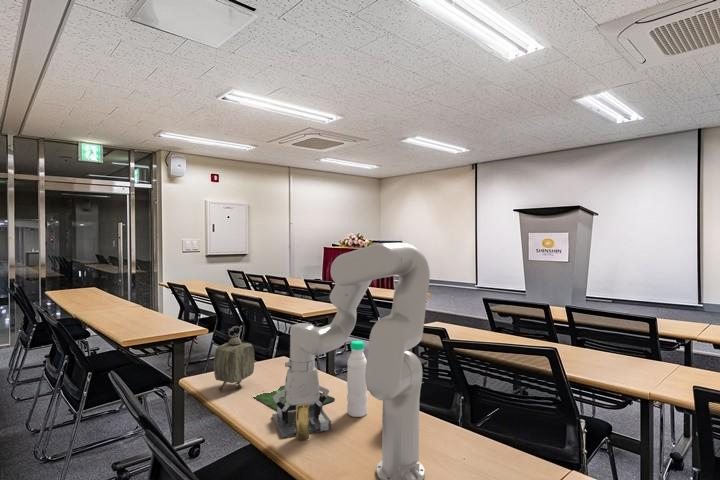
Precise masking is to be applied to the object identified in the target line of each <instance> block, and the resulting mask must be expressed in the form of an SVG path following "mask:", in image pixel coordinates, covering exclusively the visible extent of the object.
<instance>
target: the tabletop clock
mask: <svg viewBox="0 0 720 480" xmlns="http://www.w3.org/2000/svg"><path fill="white" fill-rule="evenodd" d="M234 329H239V332H238V333H233V335H232V334H231V335H230V333H231V331H232V330H234ZM241 332H242V329H241V326H238V325H235V326H232V327H231V328H230V329H229V331H228V334H227V335H228V336H229V338H230V339H229V340H228V342H225V343H224V344H222V345H219V346H217V348H216V349H215V351H214V356H213V373H214V374H213V375H214V378H215V380H216V381H220V382H223V383H222V385H221V386H219V387H218V391H219V390H220V391H219V392H222V391H223V390H224V386H225V385H226V384H227V383H229V384H230V383H231V384H234V383H237V389H238V388H240V389H241V388H242V385H241V384H240V383H241V382H242V380H245V379H248V378H249V377H250V376H252V375H253V374H254V369H255V349H254V346H253V345H252V343H248V342H242V340H241V339H240V337H238V336H239V335H240V334H241ZM239 382H240V383H239ZM221 390H222V391H221Z"/></svg>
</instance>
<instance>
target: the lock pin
mask: <svg viewBox="0 0 720 480" xmlns="http://www.w3.org/2000/svg"><path fill="white" fill-rule="evenodd" d="M314 420H315V422H316V423H317V425H318V426H319V430H320V432H323V431H324V430H325V431H330V430H329V421H328V420H326V419H325V418H324V417H323V415H322V414H321V412H320V415H319V419H316V418H315V417H314Z"/></svg>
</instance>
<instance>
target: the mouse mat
mask: <svg viewBox="0 0 720 480" xmlns="http://www.w3.org/2000/svg"><path fill="white" fill-rule="evenodd" d="M279 387H280V388H279V389H278V390H276V391H273V392H271V393H263V394H260V395H257V396H256V397H253V398H254V400H255V399H256V400H255V401H257V402H259V403H261V404H263V405H264V406H266V407H267V408H270V409H271V410H273V411H275V412H277V404H276V402H275V401H274V399H273V396H274V395H275V394H277V393H279V392H280V391H282V390H283V389H285V384H284V385H282V386H281V385H280V386H279ZM322 394H323V392H321V391H319V398H320V396H321V395H322ZM253 398H252V399H253ZM284 400H285V397H284V396H282V397H281V398H279V401H280V402H281V403H283V402H284ZM334 401H336V399H335V398H334V397H333V396H330V395H329V394H328V395H327V397H326V400H325V401H324V402H323V403H322V406H324V405H327V404H330V403H333V402H334Z"/></svg>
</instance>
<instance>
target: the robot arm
mask: <svg viewBox="0 0 720 480" xmlns="http://www.w3.org/2000/svg"><path fill="white" fill-rule="evenodd" d="M429 266H430V265H429V263H428V260H427V258H426V256H425V254H424V253H423V252H422V251H420V249H419V248H417V247H416V246H414V245H412V244H409V243H406V242H382V243H381V242H379V243H374V244H371V245H367V246H365V247H362V248H357V249H355V250H352V251H348V252H344V253H342V254H340V255H338V256H336V258H335V259H334V260H333V262H332V263H331V266H330V277H331V279H332V280H333V282H334V283H335V285H334V286H333V288H332V289H331V292H330V293H329V300H330V303H331V304H332V305H333V306H334V307H335V308H336V309H337V311H336V313H335V315H334V317H333V319H332V321H331V322H330V323H329V324H326V325H324V326H320V327H316V328H315V326H314V324H311V323H307V322H302V323H301V322H300V323H295V324H293V325H292V326H291V328H290V337H289V341H290V342H289V345H290V346H289V359H288V361H287V362H285V363H284V366H285V368H287V370H286V376H285V383H284V385H285V389H283V390H282V391H280V392H279V393H277V394H275V395H274V396H273V399H274V401H275V402H276V404H277V406H278V407H279V408H280V409H281V410H282V421H284V423H285V424H288V411H287V408H288V407H289V406H290V405H301V404H308V403H314V402H315V404H314V417H315V418H316V419H319V415H320V406H321V405H322V403H323V402H324V401H325V400H326V397H327V395H328V396H329V392H330V390H329V389H328V388H326V387H324V386H322V385H320V382H319V381H320V380H319V374H318V373H319V372H318V368H317V367H316V366H315V357H316V356H321V355H323V354H327V353H329V352H331V351H334V350H336V349H338V348H339V349H340V348H341V347H342V346H344V344H346V342H347V340H348V339H349V337H350V336H351V333H352V332H353V331H354V328H355V326H356V323H357V317H358V316H357V315H358V312H357V308H358V306H359V304H360V303H361V301H362V299H363V298H364V296H365V293H366V292H367V290H368V289H369V286H370V285H371V284H372V282H373V280H374V281H375V280H378V279H383V278H388V277H395V276H398V282H397V284H396V285H395V286H396V287H395V289H394V292H393V297H392V299H393V300H392V306H391V311H390V314H388V315H386V316H383V317H382V318H379V320H377V321H376V322H375V323H374V325H373V326H372V328H371V331H370V334H369V339H368V346H367V355H366V360H367V362H366V371H365V380H366V385H367V391H368V392H369V393H370V395H371V396H372V397H373V398H375V399H376V400H378V401H382V415H381V416H382V419H381V420H382V421H381V422H382V423H381V426H382V427H381V429H382V431H381V432H382V435H381V437H382V439H381V440H382V442H381V443H382V444H381V445H382V450H381V451H382V452H381V455H382V456H381V460H380V461H378V463H377V465H376V475H377V477H378V479H379V480H424V479H425V475H426V468H425V466H424V465H423V464H422V463H421V462H420V397H421V389H422V381H423V367H422V363H421V361H420V359H419V358H418V356H417V355H416V354H415V353H413V352H412V351H409V350H411V349H413V348H414V347H416V346H418V344H419V343H420V342H421V341H422V338H423V334H424V325H425V318H426V317H425V316H426V312H427V311H426V310H427V309H426V308H427V300H428V292H429V285H430V278H431V277H430V275H431V273H430V271H431V270H430V267H429ZM319 392H320V393H323V394H322V395H321V396H320V398H319ZM282 396H284V397H285V400H284V402H283V403H281V402H280V401H279V398H281V397H282ZM322 406H323V405H322Z"/></svg>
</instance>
